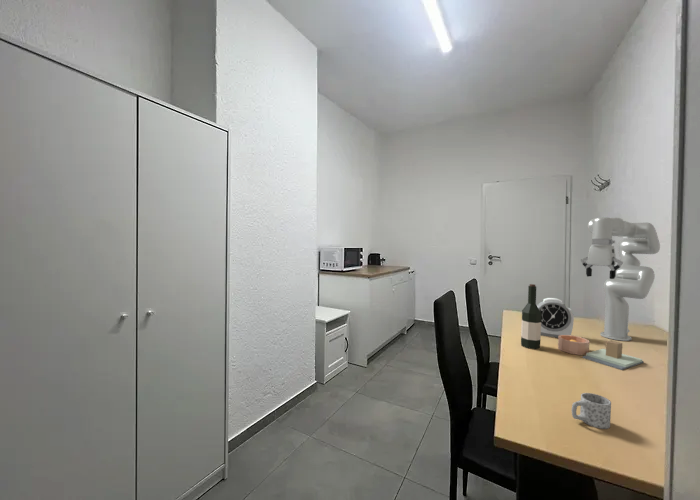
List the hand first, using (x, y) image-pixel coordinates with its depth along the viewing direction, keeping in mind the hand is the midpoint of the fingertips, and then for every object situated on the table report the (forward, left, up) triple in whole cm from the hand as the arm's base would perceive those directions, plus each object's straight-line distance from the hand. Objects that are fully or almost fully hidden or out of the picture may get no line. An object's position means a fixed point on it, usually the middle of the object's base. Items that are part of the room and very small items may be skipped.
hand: (600, 277), depth 152 cm
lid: (+17, +14, -33) cm, 39 cm away
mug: (+79, +35, -34) cm, 93 cm away
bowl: (+21, 0, -33) cm, 39 cm away
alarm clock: (+7, -18, -34) cm, 39 cm away
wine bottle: (+34, -12, -34) cm, 49 cm away
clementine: (+21, 0, -30) cm, 37 cm away
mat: (+18, +14, -33) cm, 40 cm away
